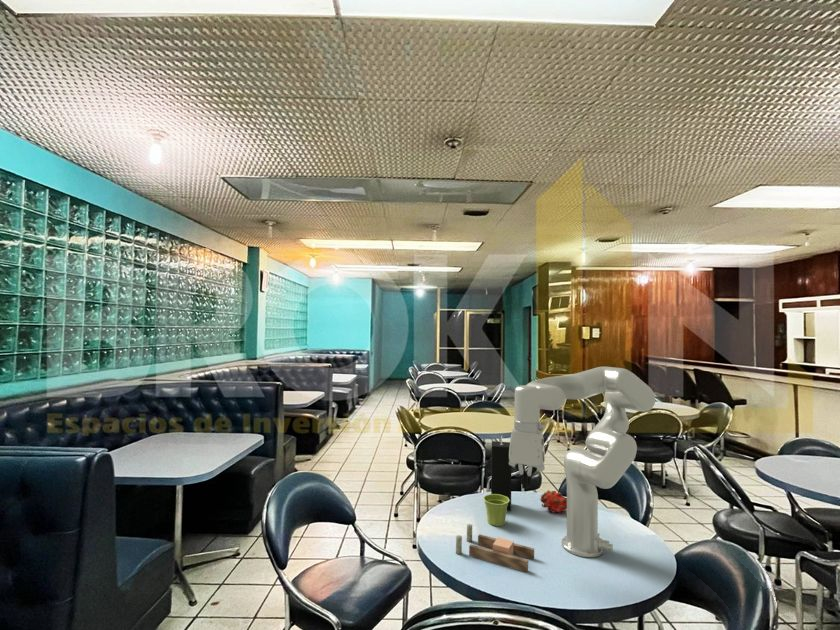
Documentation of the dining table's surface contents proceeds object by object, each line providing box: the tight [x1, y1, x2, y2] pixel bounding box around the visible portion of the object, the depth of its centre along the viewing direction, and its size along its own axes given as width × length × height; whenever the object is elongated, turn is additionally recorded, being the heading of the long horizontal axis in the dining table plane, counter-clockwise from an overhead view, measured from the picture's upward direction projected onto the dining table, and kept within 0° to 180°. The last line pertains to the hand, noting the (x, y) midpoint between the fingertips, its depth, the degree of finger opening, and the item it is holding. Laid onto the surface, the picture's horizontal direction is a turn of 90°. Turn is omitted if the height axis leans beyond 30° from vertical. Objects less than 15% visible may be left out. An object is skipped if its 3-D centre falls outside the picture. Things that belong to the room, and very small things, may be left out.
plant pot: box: [483, 493, 510, 527], centre depth 155 cm, size 9×9×9 cm
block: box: [492, 537, 514, 556], centre depth 131 cm, size 5×5×4 cm
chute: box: [455, 524, 535, 573], centre depth 132 cm, size 22×11×5 cm, turn 62°
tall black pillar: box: [490, 435, 513, 512], centre depth 170 cm, size 8×8×28 cm
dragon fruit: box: [539, 490, 567, 514], centre depth 166 cm, size 8×8×12 cm
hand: (526, 487), depth 129 cm, fingers closed
